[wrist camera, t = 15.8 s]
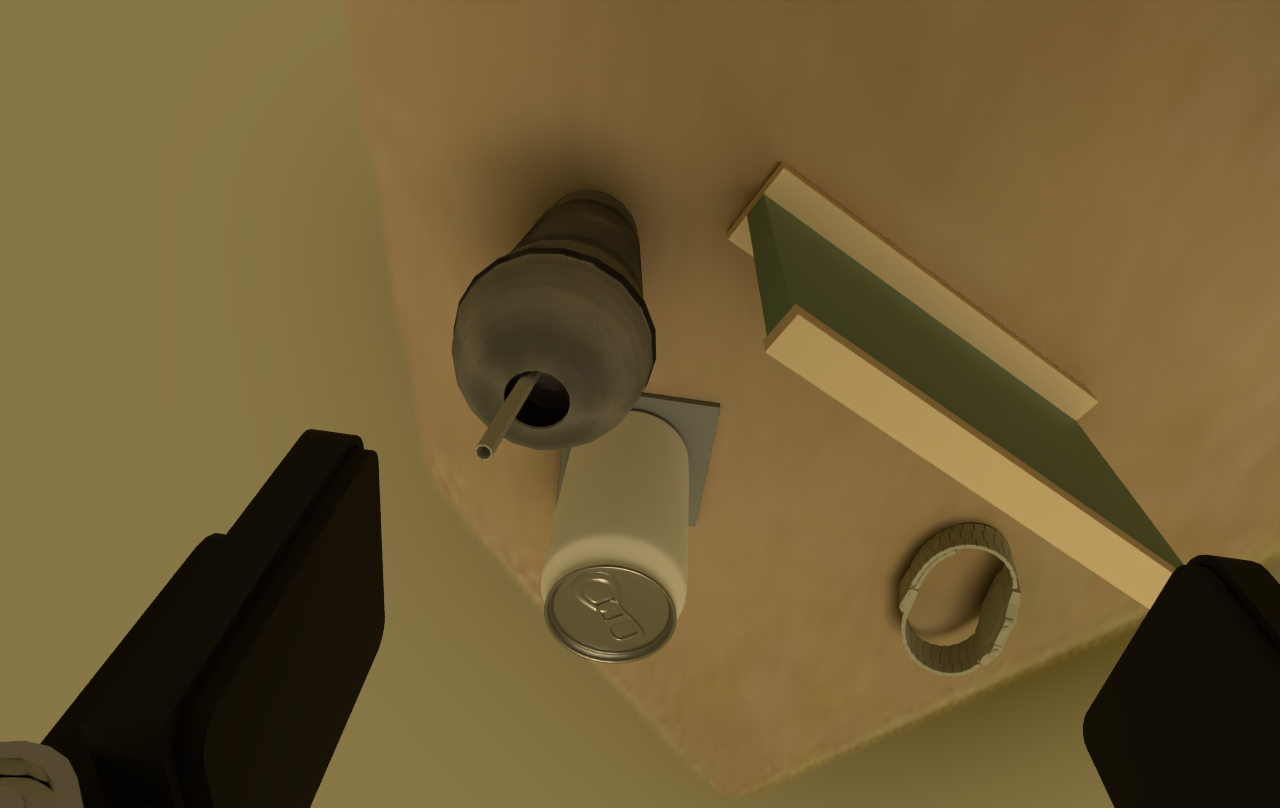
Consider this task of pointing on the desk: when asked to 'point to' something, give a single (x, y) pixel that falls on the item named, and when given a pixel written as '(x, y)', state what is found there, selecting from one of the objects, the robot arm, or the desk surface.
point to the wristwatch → (996, 606)
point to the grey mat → (693, 428)
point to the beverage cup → (557, 330)
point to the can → (620, 543)
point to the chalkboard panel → (942, 379)
